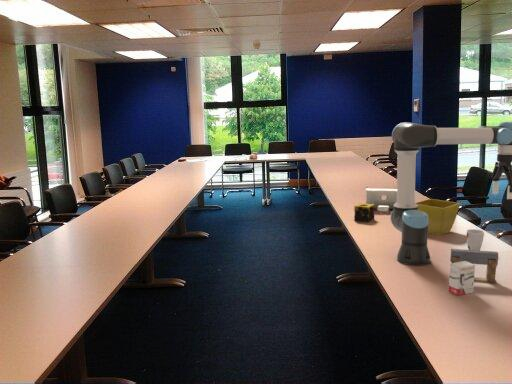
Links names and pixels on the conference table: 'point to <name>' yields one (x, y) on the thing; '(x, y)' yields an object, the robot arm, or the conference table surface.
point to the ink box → (461, 278)
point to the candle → (364, 212)
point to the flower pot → (439, 214)
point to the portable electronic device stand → (379, 204)
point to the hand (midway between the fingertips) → (502, 196)
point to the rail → (474, 256)
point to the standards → (489, 275)
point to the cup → (474, 239)
